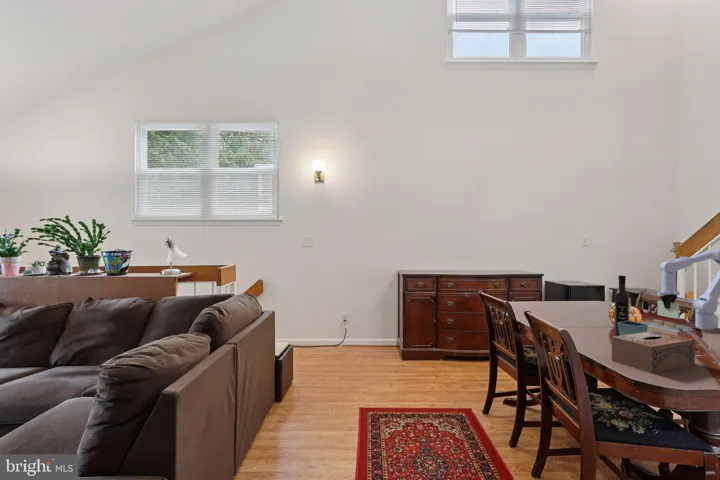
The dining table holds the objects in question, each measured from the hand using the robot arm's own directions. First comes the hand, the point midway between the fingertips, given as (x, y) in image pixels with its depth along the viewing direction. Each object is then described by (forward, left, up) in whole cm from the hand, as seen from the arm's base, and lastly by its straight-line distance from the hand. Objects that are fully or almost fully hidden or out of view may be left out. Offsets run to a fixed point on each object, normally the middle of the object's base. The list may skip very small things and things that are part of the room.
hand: (668, 308), depth 201 cm
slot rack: (+5, +3, -10) cm, 12 cm away
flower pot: (+47, +14, -11) cm, 50 cm away
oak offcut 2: (+8, +6, -9) cm, 14 cm away
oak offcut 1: (+8, 0, -9) cm, 12 cm away
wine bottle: (+39, +3, -11) cm, 40 cm away
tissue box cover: (+68, +37, -11) cm, 78 cm away
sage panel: (0, 0, -4) cm, 5 cm away
